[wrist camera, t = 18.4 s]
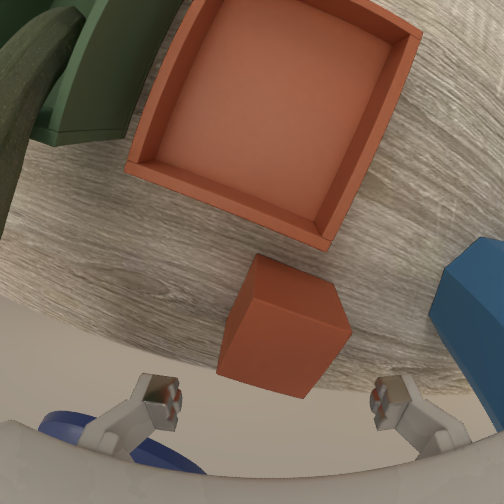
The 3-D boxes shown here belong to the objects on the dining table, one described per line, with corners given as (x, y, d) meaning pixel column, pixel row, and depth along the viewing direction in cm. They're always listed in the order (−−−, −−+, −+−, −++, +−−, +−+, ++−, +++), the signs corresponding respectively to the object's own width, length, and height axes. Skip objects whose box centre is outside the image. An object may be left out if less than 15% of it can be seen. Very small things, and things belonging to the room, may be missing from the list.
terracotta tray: (316, 233, 17) (326, 253, 14) (145, 164, 16) (122, 172, 13) (400, 45, 12) (424, 32, 10) (230, -24, 11) (223, -50, 8)
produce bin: (124, 138, 15) (54, 147, 9) (13, 106, 14) (-56, 112, 8) (193, -18, 11) (159, -78, 5) (66, -23, 10) (11, -52, 4)
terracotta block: (296, 344, 20) (303, 399, 15) (226, 319, 19) (215, 374, 14) (333, 283, 18) (353, 333, 13) (256, 252, 17) (253, 297, 13)
